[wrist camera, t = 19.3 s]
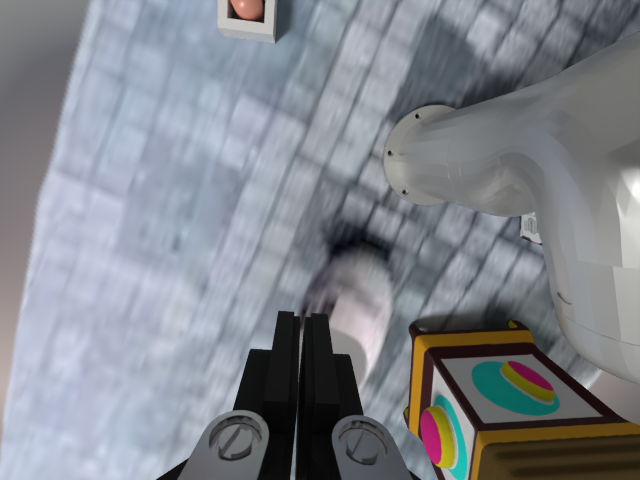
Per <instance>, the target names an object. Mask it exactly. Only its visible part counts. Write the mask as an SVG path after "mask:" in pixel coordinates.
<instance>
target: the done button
mask: <svg viewBox="0 0 640 480" xmlns="http://www.w3.org/2000/svg"><path fill="white" fill-rule="evenodd" d="M231 2H232V5H233V7H234V9H235V11H236V13H237V15H238V17H239V19H240V20H245V21H252V22H260V21H261V20H262V18H263V16H264V5H263V1H262V0H231Z"/></svg>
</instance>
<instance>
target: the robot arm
mask: <svg viewBox="0 0 640 480" xmlns="http://www.w3.org/2000/svg"><path fill="white" fill-rule="evenodd" d="M416 114H417V115H418V118H416V117H415V115H416ZM388 151H390V152H391V154H390V155H388ZM383 169H384V174H385V176H386V179H387V182H388V183H389V185H390V186H391V188H392V189H393V190H394V191H395V193H396V194H397V195H399V196H400V197H401V198H403V199H404V200H406V201H409V202H411V203H414V204H417V205H424V206H431V205H438V204H441V203H445V202H450V203H453V204H456V205H460V206H463V207H466V208H469V209H472V210H476V211H479V212H483V213H486V214H490V215H494V216H500V217H515V216H521V215H526V214H530V213H533V212H535V216H536V221H537V226H538V231H539V237H540V240H541V242H542V246H543V252H544V257H545V263H546V268H547V274H548V279H549V285H550V290H551V295H552V299H553V304H554V309H555V313H556V317H557V320H558V323H559V326H560V328H561V330H562V333H563V334H564V336H565V338H566V339H567V341H568V342H569V343H570V345H571V346H572V347H573V348H574V349H575V350H576V351H577V352H578V353H579V354H580V355H581V356H582V357H583V358H585V359H586V360H587V361H589V362H590V363H592V364H593V365H595V366H596V367H598V368H600V369H602V370H604V371H606V372H608V373H610V374H612V375H614V376H616V377H619V378H621V379H624V380H627V381H629V382H632V383H635V384H638V385H640V31H639V32H637V33H635V34H633V35H630V36H628V37H626V38H624V39H622V40H620V41H617V42H615V43H613V44H611V45H610V46H608V47H606V48H604V49H602V50H600V51H598V52H596V53H595V54H593V55H591V56H589V57H587V58H585V59H584V60H582V61H580V62H578V63H576V64H574V65H573V66H571V67H569V68H567V69H565V70H563V71H561V72H560V73H558V74H556V75H554V76H552V77H550V78H547V79H545V80H543V81H541V82H539V83H536V84H533V85H531V86H528V87H525V88H523V89H520V90H517V91H515V92H512V93H509V94H506V95H502V96H499V97H496V98H493V99H490V100H487V101H483V102H480V103H477V104H474V105H471V106H468V107H465V108H461V109H458V110H456V109H454V108H452V107H449V106H445V105H429V106H424V107H421V108H418V109H416V110H414V111H412V112H410V113H408V114H407V115H406V116H404V117H403V118H402V119H401V120H399V122H398V123H397V124H396V125H395V126H394V127H393V129H392V131H391V132H390V134H389V135H388V138H387V140H386V143H385V146H384V151H383ZM403 190H405V193H402V191H403ZM299 340H300V317H299V316H294V312H288V311H278V317H277V323H276V328H275V334H274V340H273V346H272V350H262V349H250V352H249V355H248V358H247V362H246V365H245V369H244V372H243V376H242V379H241V383H240V386H239V390H238V393H237V397H236V400H235V404H234V407H233V411H230V412H227V413H225V414H222V415H220V416H218V417H217V418H216V419H214V420H213V421H212V422H211V423H210V424H209V425H208V426H207V428H206V429H205V430H204V432H203V434H202V436H201V438H200V439H199V441H198V443H197V445H196V447H195V448H194V450H193V452H192V454H191V456H190V458H188V459H187V460H185V461H184V462H182V463H180V464H179V465H177V466H176V467H174V468H173V469H171V470H170V471H168V472H167V473H165V474H164V475H162V476H161V477H159V478H158V479H156V480H290V475H291V465H292V455H293V444H294V434H295V424H296V414H297V437H296V470H295V480H421V479H420V478H418V477H417V476H416V475H415V474H413V473H412V472H411V471H409V470H408V469H407V467H406V465H405V462H404V460H403V458H402V456H401V454H400V452H399V450H398V448H397V446H396V443H395V441H394V439H393V437H392V436H391V434H390V433H389V431H388V430H387V429H386V428H385V427H384V426H383V425H382V424H381V423H379V422H378V421H376V420H374V419H372V418H369V417H366V416H364V415H363V410H362V406H361V401H360V397H359V393H358V388H357V384H356V380H355V375H354V371H353V366H352V362H351V358H350V355H349V354H333V350H332V343H331V336H330V329H329V322H328V315H327V314H318V313H311V317H305V322H304V332H303V342H302V353H301V363H300V374H299ZM298 374H299V383H298ZM297 401H298V404H297Z"/></svg>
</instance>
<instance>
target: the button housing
mask: <svg viewBox="0 0 640 480" xmlns="http://www.w3.org/2000/svg"><path fill="white" fill-rule="evenodd" d="M277 2H278V0H265V20H264V23H260V22H252V21H245V20H237V19H233V5H232V2H231V0H218V29H219V30H220V32H221V33H222V35H223V36H224V37H231V38H239V39H246V40H254V41H262V42H269V43H275V38H276V20H277Z"/></svg>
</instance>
